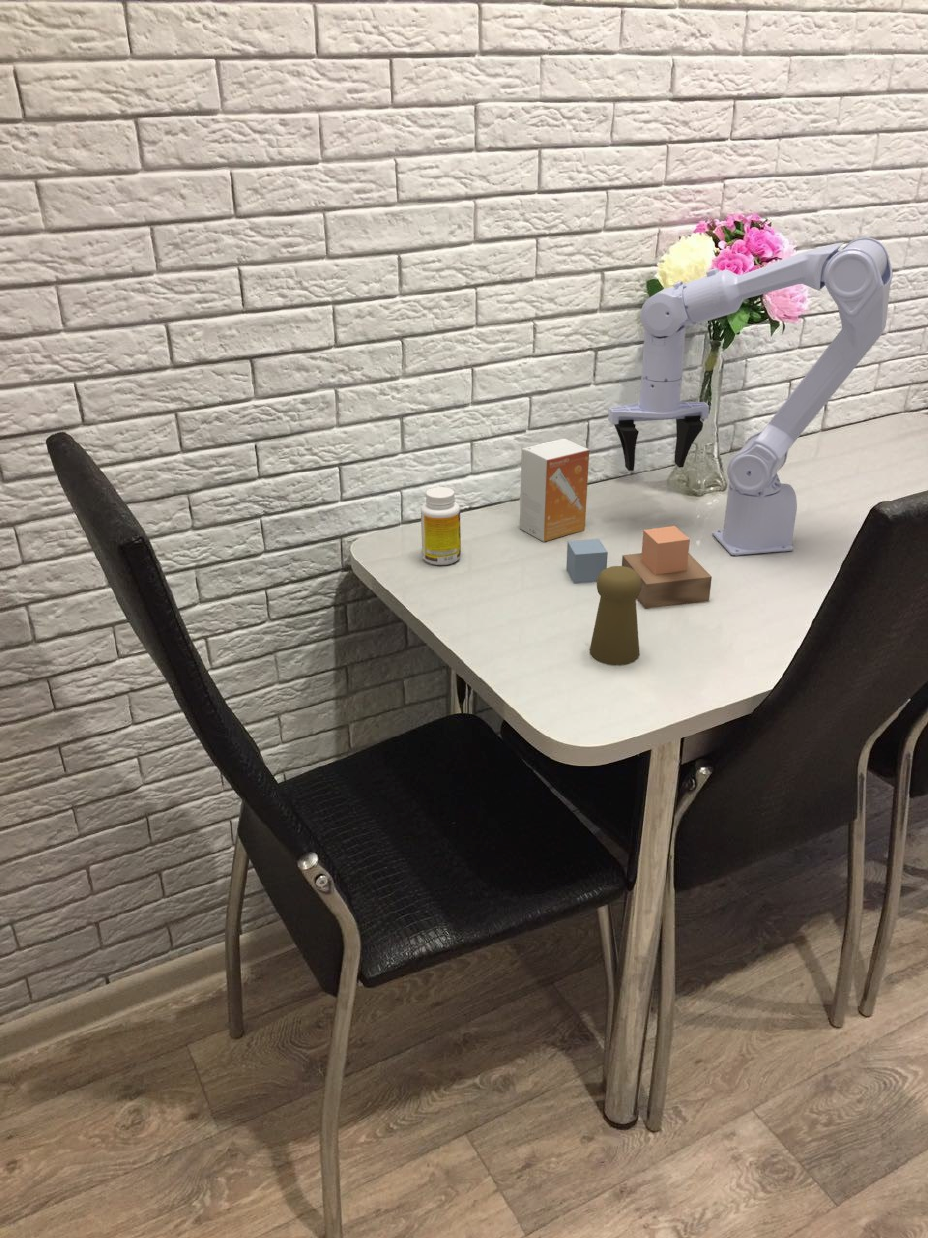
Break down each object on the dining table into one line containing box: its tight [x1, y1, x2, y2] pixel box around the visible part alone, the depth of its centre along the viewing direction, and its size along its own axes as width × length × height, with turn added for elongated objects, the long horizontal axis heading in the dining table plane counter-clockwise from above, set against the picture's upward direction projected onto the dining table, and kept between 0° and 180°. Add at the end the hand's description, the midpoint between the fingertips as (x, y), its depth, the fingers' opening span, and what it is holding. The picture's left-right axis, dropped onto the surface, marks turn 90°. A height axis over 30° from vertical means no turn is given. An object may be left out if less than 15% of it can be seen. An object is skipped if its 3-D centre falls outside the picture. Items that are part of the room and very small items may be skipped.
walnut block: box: [621, 552, 713, 610], centre depth 139 cm, size 9×9×4 cm
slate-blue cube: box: [565, 538, 609, 585], centre depth 143 cm, size 4×4×4 cm
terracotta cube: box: [641, 525, 691, 575], centre depth 137 cm, size 4×4×4 cm
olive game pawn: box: [589, 565, 642, 666], centre depth 122 cm, size 6×6×11 cm
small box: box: [519, 438, 590, 542], centre depth 154 cm, size 8×6×13 cm
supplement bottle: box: [420, 486, 462, 566], centre depth 146 cm, size 6×6×10 cm
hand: (654, 466), depth 154 cm, fingers open, 7 cm apart
